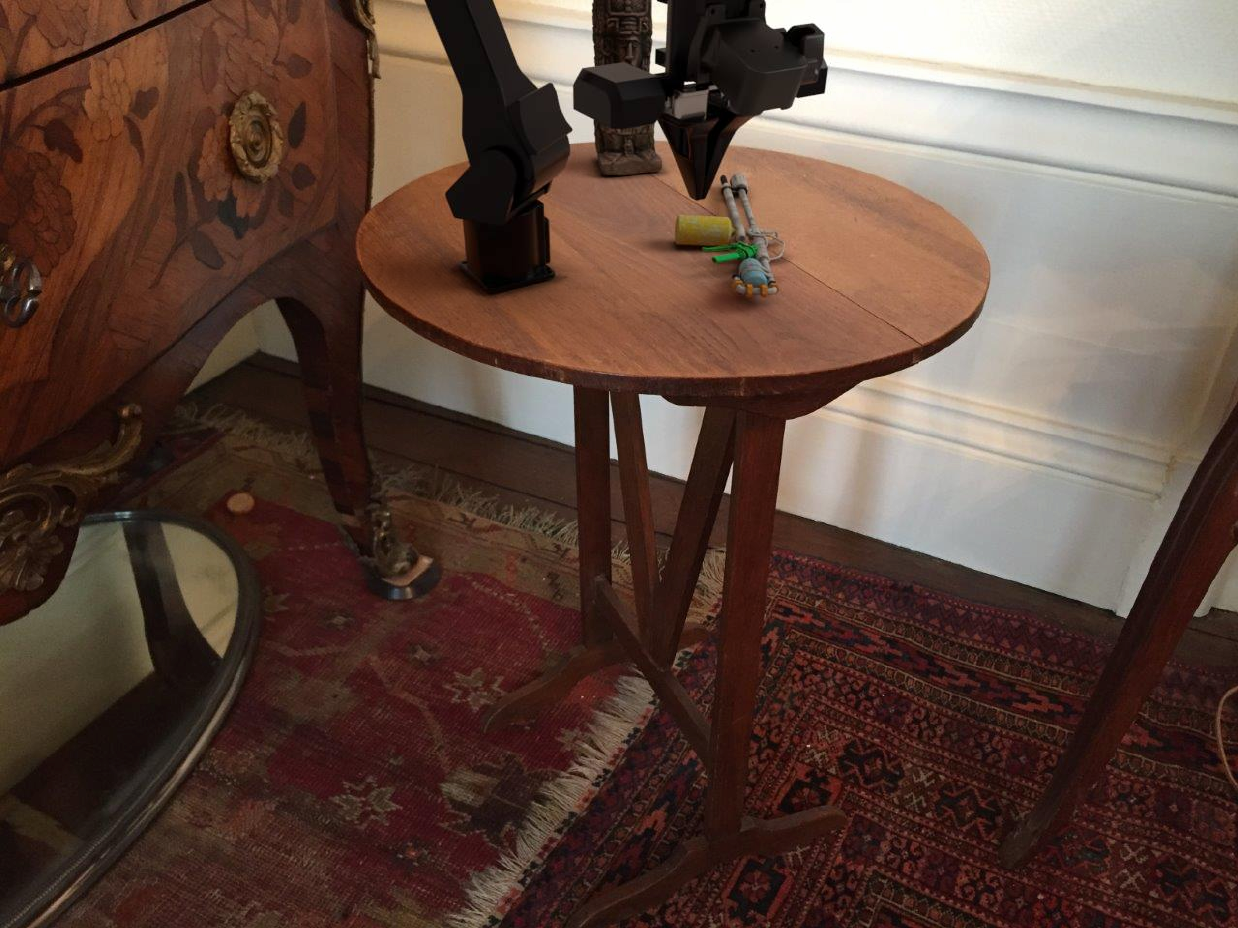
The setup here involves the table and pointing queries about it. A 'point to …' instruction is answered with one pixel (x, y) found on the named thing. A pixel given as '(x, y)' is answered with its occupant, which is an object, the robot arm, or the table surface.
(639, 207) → the table surface
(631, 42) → the statue
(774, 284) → the flamethrower
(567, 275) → the table surface
